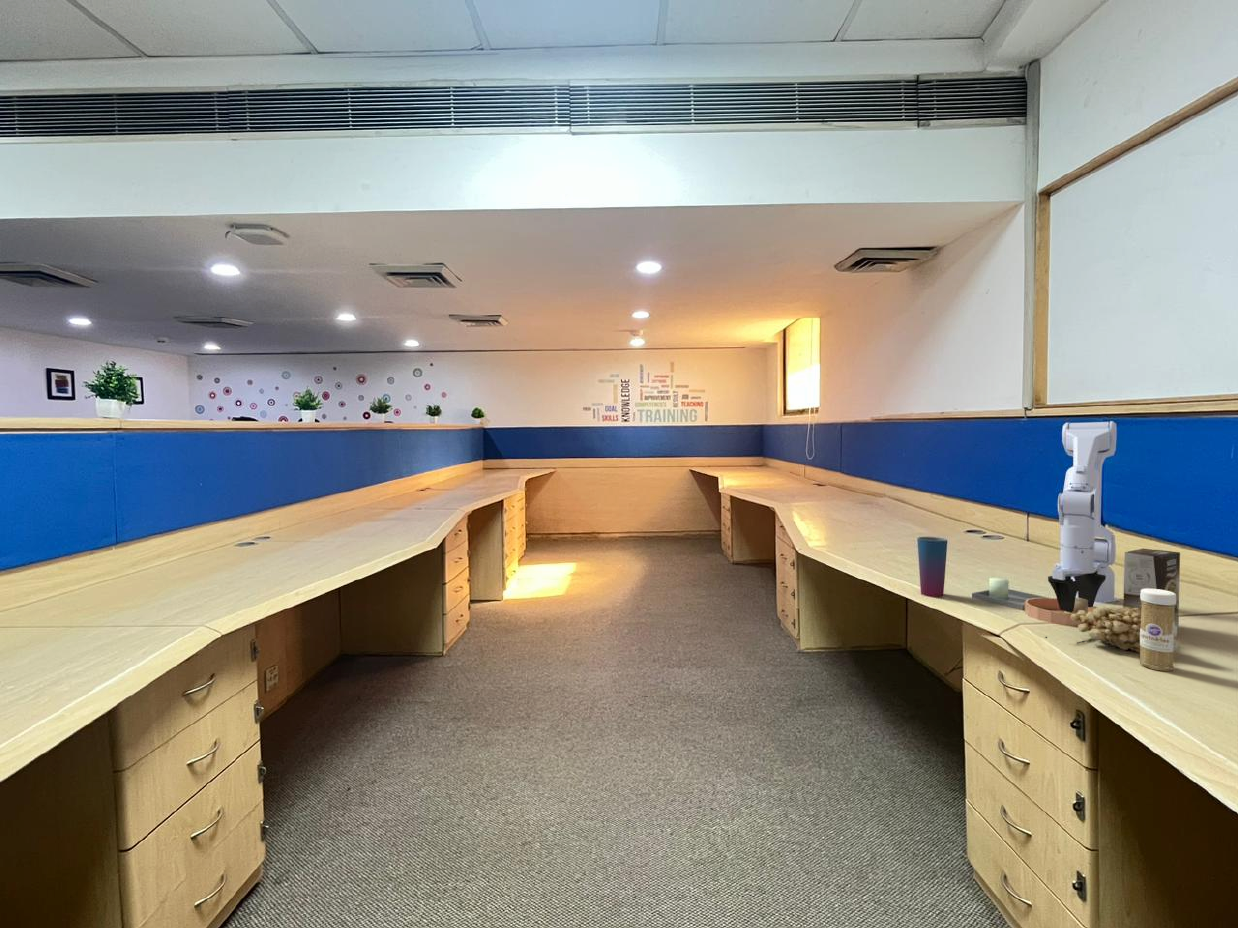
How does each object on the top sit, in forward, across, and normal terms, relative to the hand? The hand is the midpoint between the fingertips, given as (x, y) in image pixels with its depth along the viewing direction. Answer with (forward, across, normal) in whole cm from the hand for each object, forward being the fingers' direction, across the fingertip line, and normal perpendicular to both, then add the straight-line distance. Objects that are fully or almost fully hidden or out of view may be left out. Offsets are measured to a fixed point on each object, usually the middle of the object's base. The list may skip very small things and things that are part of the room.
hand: (1076, 608), depth 124 cm
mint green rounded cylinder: (+2, -4, -19) cm, 19 cm away
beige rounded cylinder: (+2, 0, 0) cm, 3 cm away
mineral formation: (+3, +8, +11) cm, 14 cm away
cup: (+3, +8, -28) cm, 30 cm away
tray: (+3, -4, -16) cm, 16 cm away
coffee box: (+3, -10, +9) cm, 14 cm away
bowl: (+3, 0, -3) cm, 4 cm away
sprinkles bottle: (+3, +15, +20) cm, 25 cm away
